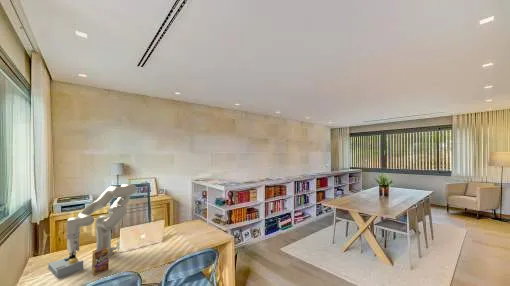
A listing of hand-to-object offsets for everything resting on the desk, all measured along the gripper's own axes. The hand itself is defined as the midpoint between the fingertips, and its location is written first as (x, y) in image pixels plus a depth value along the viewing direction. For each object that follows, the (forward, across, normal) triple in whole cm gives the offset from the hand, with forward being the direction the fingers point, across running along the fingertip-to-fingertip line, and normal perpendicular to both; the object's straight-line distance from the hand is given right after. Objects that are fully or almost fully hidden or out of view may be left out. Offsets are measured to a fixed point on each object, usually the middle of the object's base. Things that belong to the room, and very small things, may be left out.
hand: (72, 261), depth 160 cm
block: (+1, -4, 0) cm, 4 cm away
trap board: (+4, +2, +3) cm, 6 cm away
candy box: (+4, -22, -10) cm, 25 cm away
